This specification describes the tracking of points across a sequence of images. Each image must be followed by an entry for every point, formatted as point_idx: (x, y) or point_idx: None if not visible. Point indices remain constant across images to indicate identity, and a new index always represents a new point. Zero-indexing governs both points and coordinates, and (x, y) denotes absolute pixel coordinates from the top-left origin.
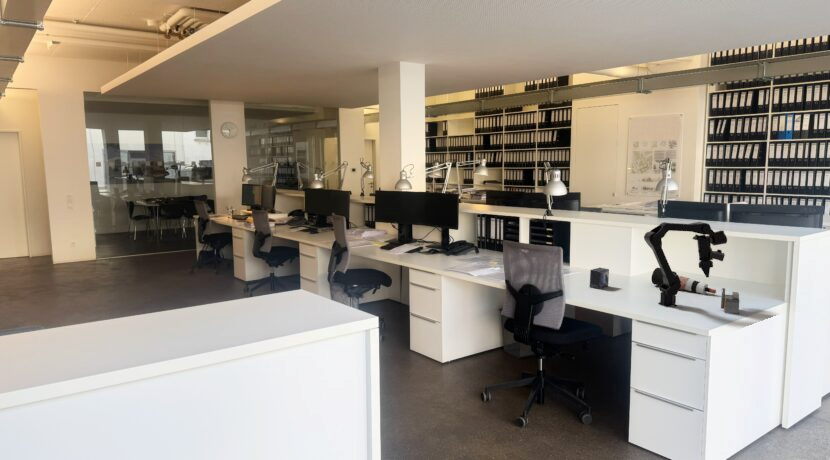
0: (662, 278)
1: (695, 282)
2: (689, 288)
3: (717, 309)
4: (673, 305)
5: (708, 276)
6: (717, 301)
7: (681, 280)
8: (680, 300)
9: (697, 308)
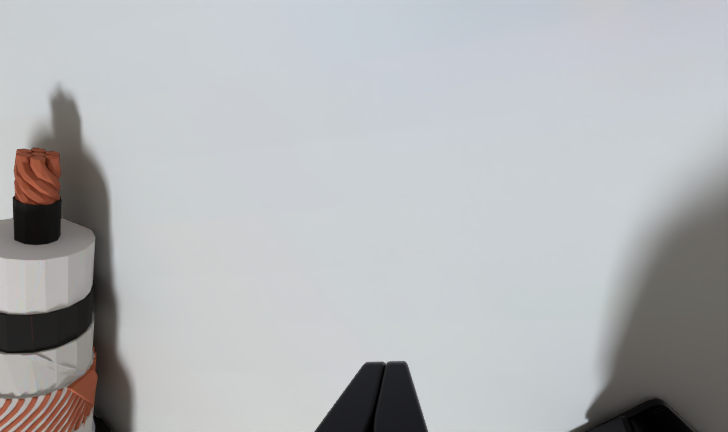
0: None
1: (16, 336)
2: (89, 338)
3: (631, 37)
4: (690, 427)
5: (410, 382)
6: (250, 97)
7: (43, 427)
8: None
9: (678, 234)
